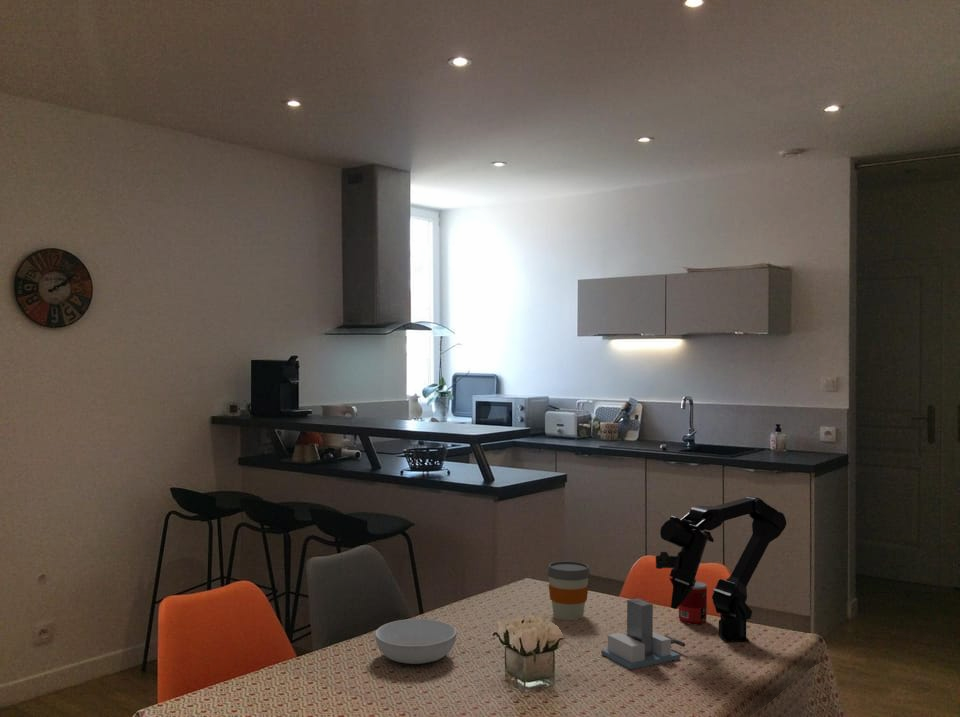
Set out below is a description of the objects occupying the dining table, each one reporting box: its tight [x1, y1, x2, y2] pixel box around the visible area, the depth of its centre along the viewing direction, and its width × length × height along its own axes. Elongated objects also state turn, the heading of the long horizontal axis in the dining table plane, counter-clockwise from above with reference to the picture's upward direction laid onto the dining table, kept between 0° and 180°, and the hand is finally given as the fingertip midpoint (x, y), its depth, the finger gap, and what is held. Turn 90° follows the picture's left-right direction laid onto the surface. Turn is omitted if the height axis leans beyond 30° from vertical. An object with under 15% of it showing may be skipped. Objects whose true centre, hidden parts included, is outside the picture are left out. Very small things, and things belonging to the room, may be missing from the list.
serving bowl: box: [374, 618, 458, 665], centre depth 212 cm, size 21×21×7 cm
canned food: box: [678, 580, 708, 625], centre depth 244 cm, size 8×8×11 cm
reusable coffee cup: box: [547, 560, 591, 621], centre depth 248 cm, size 13×13×15 cm
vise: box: [601, 631, 686, 670], centre depth 214 cm, size 20×12×5 cm, turn 118°
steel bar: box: [626, 598, 654, 656], centre depth 213 cm, size 4×6×13 cm, turn 28°
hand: (673, 608), depth 219 cm, fingers open, 9 cm apart
